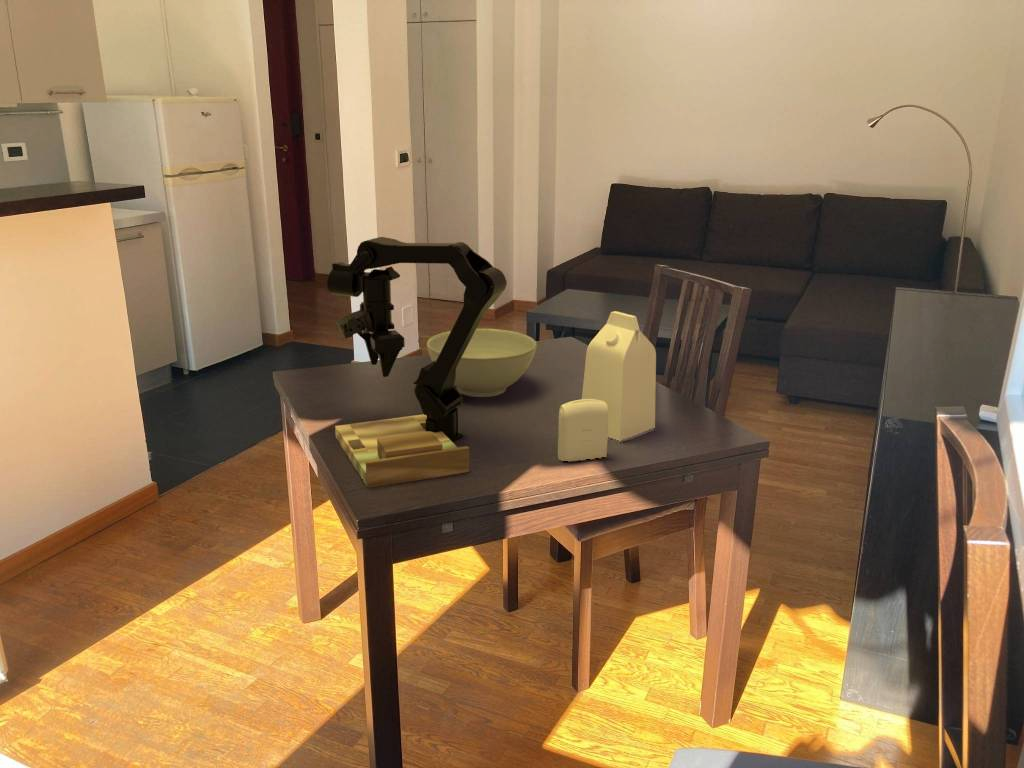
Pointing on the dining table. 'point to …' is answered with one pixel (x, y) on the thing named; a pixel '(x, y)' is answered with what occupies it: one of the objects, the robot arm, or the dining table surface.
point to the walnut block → (407, 445)
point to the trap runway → (387, 471)
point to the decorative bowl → (488, 360)
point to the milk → (622, 376)
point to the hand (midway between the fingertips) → (379, 370)
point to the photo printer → (583, 430)
